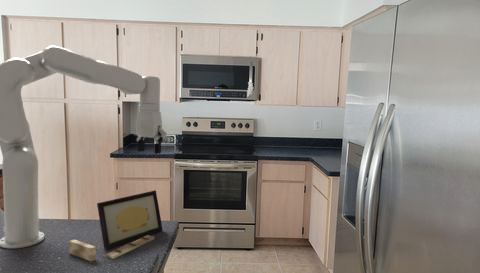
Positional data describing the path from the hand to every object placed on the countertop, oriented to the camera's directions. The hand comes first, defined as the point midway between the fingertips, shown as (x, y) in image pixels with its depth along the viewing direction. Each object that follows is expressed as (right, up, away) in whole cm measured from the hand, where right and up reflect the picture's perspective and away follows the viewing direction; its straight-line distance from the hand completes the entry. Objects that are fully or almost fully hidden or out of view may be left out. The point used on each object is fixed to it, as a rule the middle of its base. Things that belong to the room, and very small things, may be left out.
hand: (149, 152), depth 134 cm
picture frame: (-3, -30, -14) cm, 33 cm away
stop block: (-12, -31, -31) cm, 45 cm away
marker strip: (0, -30, -23) cm, 38 cm away
